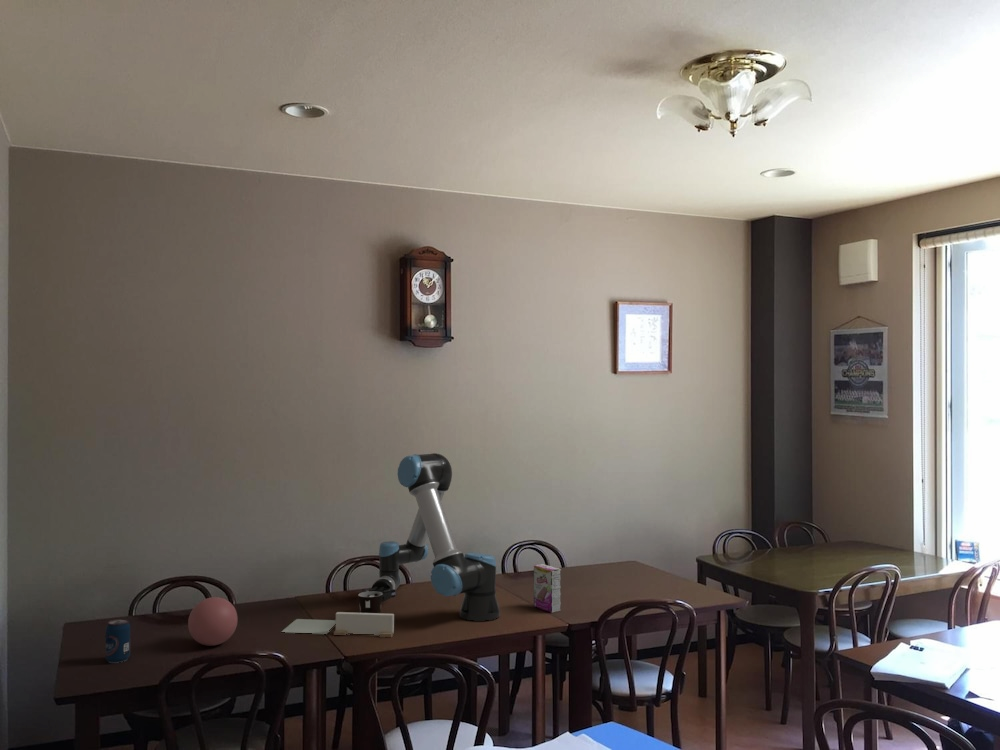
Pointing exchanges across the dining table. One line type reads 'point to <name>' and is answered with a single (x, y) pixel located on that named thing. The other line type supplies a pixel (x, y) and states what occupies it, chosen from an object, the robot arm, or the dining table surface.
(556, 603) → the candy bar box
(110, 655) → the soda can
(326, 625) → the mat
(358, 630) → the white rectangular block
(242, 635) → the dining table surface
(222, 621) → the balloon
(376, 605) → the coffee mug
